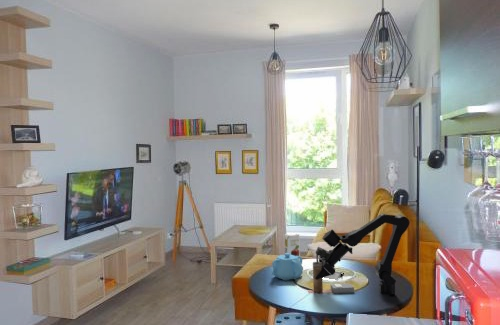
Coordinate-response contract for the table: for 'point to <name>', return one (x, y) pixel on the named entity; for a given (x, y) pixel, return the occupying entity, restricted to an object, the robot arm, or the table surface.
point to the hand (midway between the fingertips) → (314, 275)
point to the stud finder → (342, 288)
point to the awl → (316, 269)
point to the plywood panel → (322, 292)
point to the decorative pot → (287, 267)
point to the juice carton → (292, 244)
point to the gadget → (334, 276)
